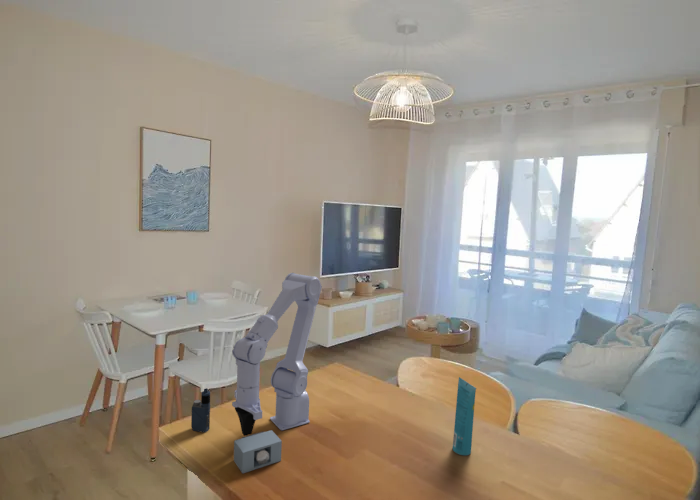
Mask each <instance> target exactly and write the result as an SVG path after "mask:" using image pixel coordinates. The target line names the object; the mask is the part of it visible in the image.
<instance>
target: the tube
mask: <svg viewBox="0 0 700 500" xmlns="http://www.w3.org/2000/svg"><path fill="white" fill-rule="evenodd" d="M457 382H458V383H457V385H458V386H457V393H456V404H455V418H454V428H453V430H454V431H453V439H452V451H453V452H454V453H455V454H457V455H460V456H469V455H471V453H472V447H473V446H472V444H473V443H472V442H473V440H472V439H473V429H474V417H475V416H474V415H475V406H476V405H475V404H476V402H475V401H476V392H477V391H476V390H477V388H476V387H475V386H474V385H472V384H471V383H469V382H468V381H467V380H464V379H463V378H461V377H460V376H459V377H458V381H457Z"/></svg>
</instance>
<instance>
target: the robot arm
mask: <svg viewBox="0 0 700 500" xmlns="http://www.w3.org/2000/svg"><path fill="white" fill-rule="evenodd" d="M281 287H282V288H281V291H280V293H279V294H278V296H277V297H276V299H275V301H274V302H273V304H272V306H271V307H270V308H269V311H268V312H267V314H262V315H260V316H259V317H258V318H257V319H256V321H255V323H254V324H253V326H252V327H251V328H250V329H249V331H248V333H247V334H245V337H242V338H240V339H237V341H236V342H235V344H234V347H233V349H232V351H231V352H232V356H233V358H234V359H235V364H236V366H237V367H236V390H234V398H235V401H232V402H231V403H232V404H231V406H232V407H233V408H234V411H235V413H236V415H237V417H238V419H239V420H238V421H239V423H240V429H241V433H242V434H243V437H245V436H248V435H252V433H253V432H254V431H253V430H254V427H255V423H256V421H257V420H261V419H263V410H262V408H261V398H260V375H261V374H260V372H261V370H260V369H261V362H262V361H263V359H264V357H265V355H266V350H267V348H268V343H269V341H270V340H271V338H273V336H274V335H275V334H276V332H277V330H278V328H279V325H278V324H279V323H278V321H279V320H280V319H281V318H282V316H284V314H285V313H286V311H287V310H288V309H289V308H290V307H291V305H292V304H293V303H294V302H295V303H296V305H297V311H296V314H295V317H294V322H293V325H292V329H291V333H290V336H289V339H288V340H289V341H288V345H287V348H286V352H285V356H284V358H283V359H281V360H280V361H277V363H276V366H275V367H274V370H273V372H272V373H271V377H270V384H271V387H272V388H274V389H273V390H274V393H276V395H275V415H273V416H270V417H269V420H270V421H271V422H272V423H273V424H274V425H275V426H276V427H277V428H278V429H279V430H280V431H285V430H289V429H291V428H295V427H298V426H302V425H306V424H309V423H310V422H311V421H310V419H309V417H310V416H309V414H310V397H309V394H308V392H307V391H306V389H307V387H308V376H309V369H308V368H307V366H306V365H305V364H304V356H305V353H306V348H307V345H308V341H309V336H310V333H311V329H312V325H313V320H314V317H315V313H316V309H317V305H318V304H319V299H320V296H321V292H322V287H323V286H322V284H321V281H320V278H318V277H317V276H315V275H314V276H313V275H305V274H301V273H294V272H290V273H287V275H286V277H285V279H283V281H282V283H281Z"/></svg>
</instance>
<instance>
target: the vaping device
mask: <svg viewBox="0 0 700 500" xmlns="http://www.w3.org/2000/svg"><path fill="white" fill-rule="evenodd" d="M200 393H201V395H200V397H201V399H195V400H194V401H193V402H192V403H193V404H192V406H191V420H190V421H191V425H190V426H191V430H192V431H193V432H197V433H198V432H200V433H207V432H209V431H210V424H211V423H210V417H211V391H210V390H208V388H206V387H205V388H204V389H203V391H201V392H200Z"/></svg>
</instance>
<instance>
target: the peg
mask: <svg viewBox="0 0 700 500" xmlns="http://www.w3.org/2000/svg"><path fill="white" fill-rule="evenodd" d="M254 458H255V459H256V460H257V462H258V463H259V464H264V463H266V462H267V461H268V459H269V453H268V452H267V451H266V450H265V448H264V449H260V450H257V451H254Z"/></svg>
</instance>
